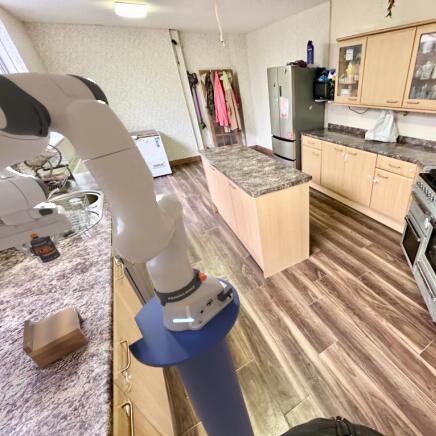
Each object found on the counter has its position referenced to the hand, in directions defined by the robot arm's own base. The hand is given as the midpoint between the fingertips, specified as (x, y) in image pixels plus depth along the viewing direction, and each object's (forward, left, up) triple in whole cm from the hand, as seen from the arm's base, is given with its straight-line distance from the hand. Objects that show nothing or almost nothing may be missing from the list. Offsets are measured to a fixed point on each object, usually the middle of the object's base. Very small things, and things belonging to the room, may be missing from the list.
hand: (44, 249), depth 83 cm
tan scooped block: (+3, +33, -16) cm, 37 cm away
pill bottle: (0, 0, -4) cm, 4 cm away
